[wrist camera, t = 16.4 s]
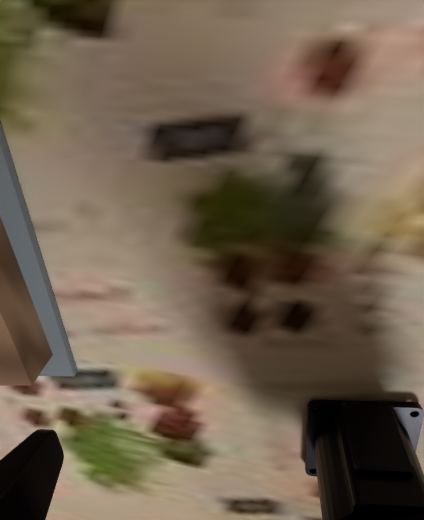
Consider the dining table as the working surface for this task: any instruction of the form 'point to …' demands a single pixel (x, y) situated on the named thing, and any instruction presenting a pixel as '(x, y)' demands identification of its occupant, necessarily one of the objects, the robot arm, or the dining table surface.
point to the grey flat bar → (32, 265)
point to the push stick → (18, 323)
